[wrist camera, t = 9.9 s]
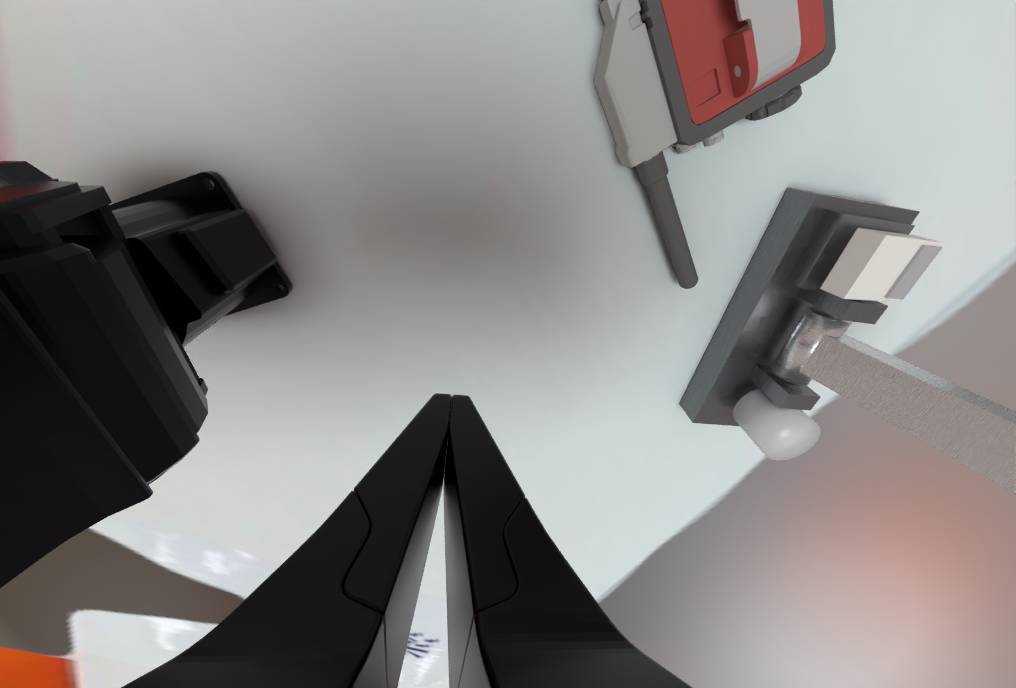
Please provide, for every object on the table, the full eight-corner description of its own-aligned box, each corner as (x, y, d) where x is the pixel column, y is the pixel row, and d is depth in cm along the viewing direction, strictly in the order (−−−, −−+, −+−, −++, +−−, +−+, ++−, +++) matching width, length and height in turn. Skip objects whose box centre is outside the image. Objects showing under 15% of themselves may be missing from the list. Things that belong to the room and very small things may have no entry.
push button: (724, 423, 24) (753, 458, 22) (747, 385, 23) (781, 418, 20) (767, 426, 25) (800, 461, 22) (792, 389, 23) (831, 422, 21)
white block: (819, 288, 18) (846, 300, 17) (857, 227, 17) (890, 236, 16) (874, 292, 19) (903, 303, 18) (914, 235, 18) (948, 243, 17)
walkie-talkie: (496, -161, 13) (662, 287, 23) (502, -275, 9) (698, 320, 19) (742, -375, 11) (810, 211, 21) (874, -627, 7) (883, 231, 17)
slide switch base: (679, 403, 27) (716, 456, 23) (787, 187, 20) (873, 206, 15) (752, 409, 28) (801, 461, 24) (882, 204, 20) (989, 225, 16)
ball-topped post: (758, 368, 22) (1121, 591, 12) (794, 308, 20) (1266, 517, 10) (787, 362, 23) (1136, 560, 13) (824, 305, 21) (1267, 488, 11)
